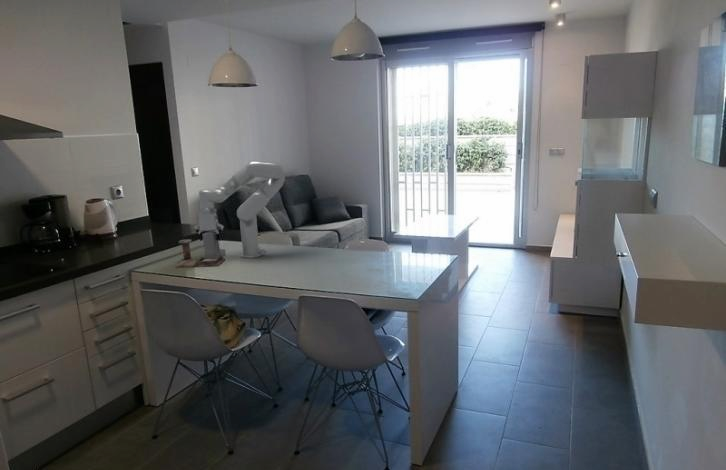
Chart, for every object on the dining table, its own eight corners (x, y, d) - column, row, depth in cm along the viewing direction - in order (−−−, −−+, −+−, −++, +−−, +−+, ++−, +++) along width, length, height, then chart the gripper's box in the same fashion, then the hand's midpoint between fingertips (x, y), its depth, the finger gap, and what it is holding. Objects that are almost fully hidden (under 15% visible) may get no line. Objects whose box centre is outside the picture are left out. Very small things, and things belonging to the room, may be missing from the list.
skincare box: (216, 260, 286) (213, 233, 283) (204, 260, 286) (201, 233, 283) (221, 256, 294) (218, 230, 291) (209, 257, 294) (206, 230, 291)
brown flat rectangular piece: (225, 260, 284) (224, 255, 283) (218, 266, 272) (218, 260, 272) (184, 262, 285) (183, 257, 284) (175, 267, 273) (174, 262, 273)
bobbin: (195, 258, 291) (193, 239, 289) (191, 262, 284) (188, 241, 282) (184, 259, 291) (181, 239, 289) (179, 262, 284) (176, 242, 282)
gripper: (224, 209, 288) (226, 238, 291) (194, 210, 288) (197, 239, 292) (220, 211, 280) (222, 241, 284) (190, 212, 281) (192, 241, 284)
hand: (209, 240), depth 288 cm, fingers open, 9 cm apart
